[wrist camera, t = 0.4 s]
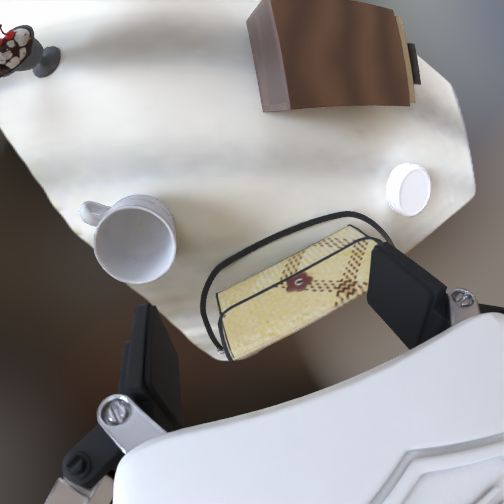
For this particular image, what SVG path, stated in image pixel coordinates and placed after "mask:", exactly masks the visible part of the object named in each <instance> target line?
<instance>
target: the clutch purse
mask: <svg viewBox="0 0 504 504" xmlns="http://www.w3.org/2000/svg"><path fill="white" fill-rule="evenodd" d="M341 217H354V218H358V219H361V220H363V221H365V222H367V223H368V224H370V225H371V226H372V227H374V228H375V229H376V230H377V231H378V232H379V233H380V234H381V235H382V236H383V237H384V239H385V240H386V241H387V243H389V244H390V245H392V246H393V247H395V246H394V244H393V242H392V240H391V239H390V237H389V236H388V235H387V233H386V232H385V231H384V230H383V229H382V228H381V227H380V226H379V225H378V224H377V223H376V222H374V221H373V220H372V219H370V218H368V217H367V216H365V215H363V214H360V213H357V212H351V211H344V212H338V213H333V214H329V215H326V216H322V217H319V218H315V219H312V220H309V221H306V222H304V223H301V224H298V225H296V226H293V227H291V228H288V229H286V230H283V231H281V232H278V233H276V234H274V235H272V236H269V237H267V238H265V239H263V240H261V241H259V242H257V243H255V244H253V245H251V246H249V247H248V248H246V249H244V250H242V251H240V252H238V253H237V254H235V255H233V256H231V257H230V258H228V259H226V260H225V261H223V262H222V263H220V264H219V265H218V266H216V267H215V269H214V270H213V271H212V272H211V274H210V276H209V277H208V279H207V281H206V283H205V286H204V288H203V291H202V295H201V302H200V311H201V316H202V319H203V322H204V325H205V327H206V330H207V332H208V335H209V337H210V339H211V340H212V342H213V343H214V345H215V346H216V347H217V349H218V350H217V352H218V353H220V352H219V351H223V353H225V354H226V356H227V358H228V360H229V362H231V363H233V362H235V361H237V360H239V359H241V358H243V357H246V356H248V355H250V354H252V353H254V352H256V351H258V350H260V349H263V348H265V347H267V346H269V345H271V344H273V343H275V342H277V341H279V340H281V339H283V338H285V337H287V336H289V335H290V334H293V333H295V332H296V331H298V330H300V329H302V328H304V327H306V326H308V325H310V324H312V323H313V322H315V321H317V320H319V319H321V318H322V317H324V316H326V315H328V314H330V313H331V312H333V311H335V310H337V309H338V308H340V307H342V306H344V305H345V304H347V303H349V302H350V301H352V300H354V299H355V298H357V297H359V296H361V295H362V294H364V293H365V292H367V291H368V283H369V273H370V262H371V251H372V250H373V249H374V246H375V245H377V244H381V243H384V242H382V241H381V240H380V239H377V238H374V237H370V236H368V235H366V234H365V233H364V232H362V231H361V230H359V229H358V228H356V227H355V226H353V225H348V226H347V227H345V228H343V229H341V230H340V231H338V232H336V233H334V234H332V235H330V236H328V237H326V238H325V239H323V240H321V241H319V242H317V243H315V244H313V245H311V246H310V247H308V248H306V249H304V250H302V251H300V252H298V253H296V254H294V255H292V256H290V257H289V258H287V259H285V260H283V261H281V262H279V263H277V264H275V265H273V266H271V267H269V268H267V269H265V270H263V271H262V272H260V273H258V274H256V275H254V276H252V277H250V278H248V279H246V280H244V281H242V282H240V283H238V284H236V285H234V286H232V287H230V288H228V289H226V290H224V291H222V292H220V293H216V302H217V306H218V311H219V315H220V317H219V321H218V328H219V333H220V337H221V341H222V345H223V347H222V346H221V345H220V344H219V342H218V341H217V339H216V337H215V336H214V333H213V331H212V329H211V326H210V323H209V321H208V318H207V314H206V298H207V294H208V291H209V288H210V286H211V284H212V282H213V280H214V278H215V277H216V275H217V274H218V273H219V271H221V270H222V269H223V268H224V267H226V266H228V265H229V264H231V263H232V262H234V261H236V260H238V259H239V258H241V257H243V256H245V255H247V254H248V253H250V252H252V251H254V250H256V249H258V248H260V247H262V246H264V245H266V244H268V243H270V242H272V241H274V240H277V239H279V238H281V237H284V236H286V235H288V234H291V233H293V232H296V231H298V230H301V229H304V228H306V227H309V226H312V225H315V224H318V223H321V222H325V221H328V220H332V219H337V218H341ZM224 351H225V352H224ZM223 353H220V354H223Z"/></svg>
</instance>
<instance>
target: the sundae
mask: <svg viewBox="0 0 504 504" xmlns="http://www.w3.org/2000/svg"><path fill="white" fill-rule="evenodd" d="M1 26H2V25H1V24H0V30H1V32H2V33H3V34H4V35H5V37H4V38H3V39H0V78H1V77H6V76H8V75H10V74H12V73H14V72H15V71H25V70H30V69H32V68H33V72H34V74H35V75H36V76H37V77H45V76H47V75H49V74H50V73H52V72H53V71H54V69H55V68H56V67H57V65H58V63H59V59H60V52H59V50H58V49H57V48H56V47H47V48H45V49H43V47H42V45H41V44H40V43H39V41H37V40H36V39H35V38H34V31H33V29H32V27H30V26H28V25H22V26H18V27H16V28H14V29H12V30H10V31H9V32H7V34H6V33H4V32H3V31H2V29H1Z"/></svg>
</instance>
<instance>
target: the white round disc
mask: <svg viewBox="0 0 504 504" xmlns="http://www.w3.org/2000/svg"><path fill="white" fill-rule="evenodd" d="M430 194H431V180H430V177H429V174H428V172H427V171H426V170H425V169H424V168H423V167H421V166H419V165H416V164H412V163H408V162H407V163H402V164H400V165H398V166H397V167H396V168H395V169H394V170H393V171H392V173H391V174H390V176H389V178H388V181H387V186H386V197H387V201H388V203H389V205H390V207H391V208H392V209H393V210H394V211H396V212H398V213H399V214H401V215H403V216H405V217H413V216H416V215H418V214H419V213H420V212H421V211H422V210H423V209H424V208H425V206H426V205H427V203H428V201H429V198H430Z"/></svg>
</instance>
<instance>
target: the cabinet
mask: <svg viewBox="0 0 504 504" xmlns="http://www.w3.org/2000/svg"><path fill="white" fill-rule="evenodd" d="M246 22H247V27H248V32H249V37H250V42H251V47H252V52H253V58H254V63H255V69H256V74H257V80H258V85H259V91H260V97H261V103H262V108H263V112H270V111H280V110H291V109H302V108H314V107H329V106H355V105H384V106H410V102H409V92H408V84H407V77H406V70H405V63H404V58H403V52H402V47H401V42H400V37H399V33H398V28H397V24H396V20H395V16H394V12H393V10H391V9H387V8H383V7H379V6H375V5H371V4H367V3H362V2H357V1H352V0H262V1H261V2H260V4H259V5H258V6H257V7H256V9H255V10H254V11H253V13H252V14H251V16H250V17H249V18H248V20H247V21H246Z"/></svg>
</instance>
